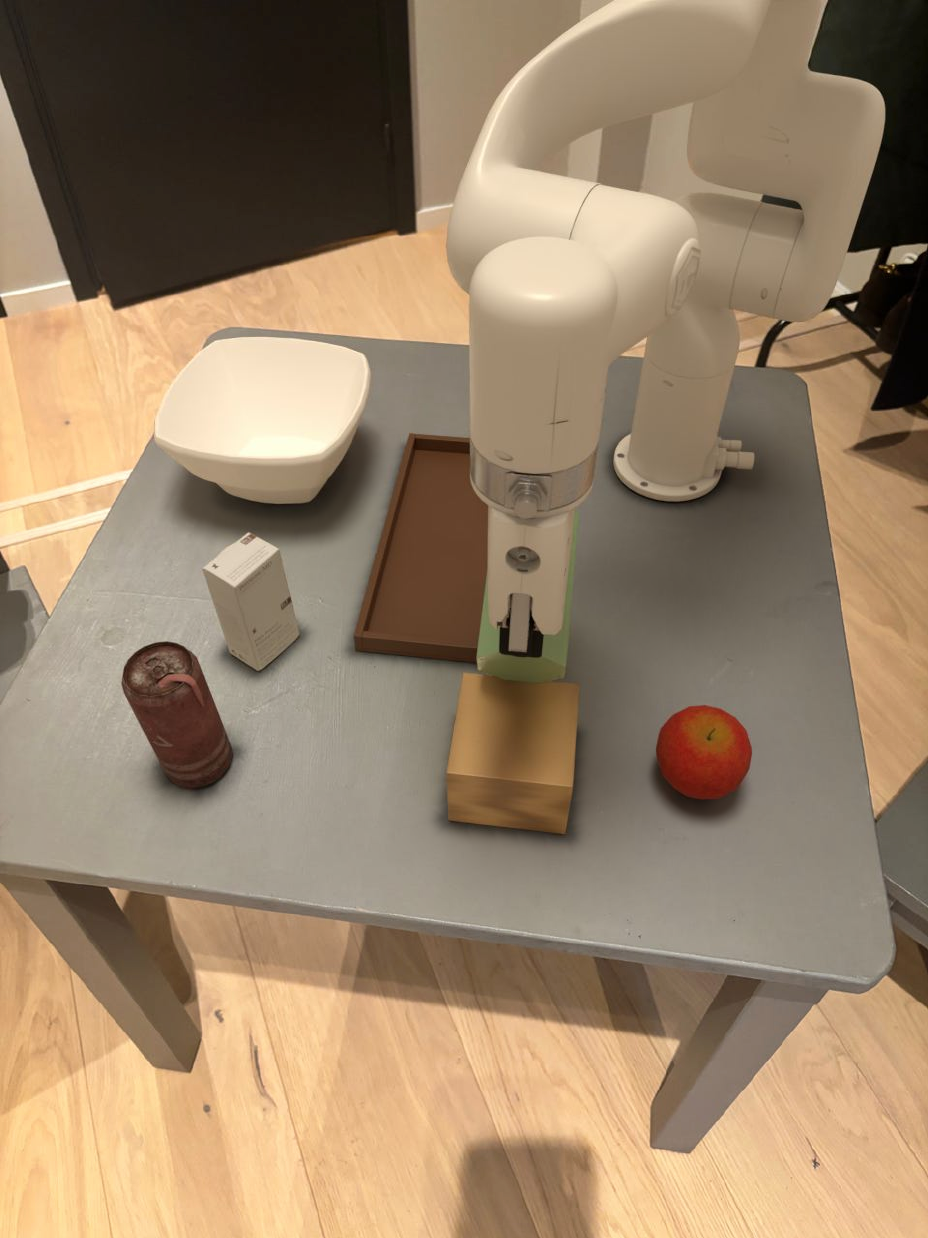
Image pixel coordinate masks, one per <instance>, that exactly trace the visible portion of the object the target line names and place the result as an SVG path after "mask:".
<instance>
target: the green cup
mask: <svg viewBox="0 0 928 1238" xmlns="http://www.w3.org/2000/svg"><path fill="white" fill-rule="evenodd" d="M579 522H580V511H579V510H577V509H575V514H574V526H573V535H572V544H571V553H570V561H569V570H568V579H567V587H566V596H565V604H564V614H563V623H562V629H561V630H560V631H559V632H558V633H557V634H555V635H548V634H544V639H543V649H542V656H541V657H540V658H533V657H515V656H512V655H503V654H501V653H500V652H499V634H500V626H498V628H497V629H495V628H494V627H493V626H492V625H491V623H490V622H489V612H488V569H487V577H486V585H485V593H484V601H483V609H482V617H481V625H480V633H479V641H478V649H477V657H476V658H477V663H476V665H477V666H476V667H477V671H481V672H484V673H485V674H487V675H492V676H495V677H498V678H500V679H503V680H511V681H520V682H530V683H542V682H547V681H551V682H553V681H556V680H561V679H565V676H566V669H567V663H568V661H567V660H568V651H569V649H568V648H569V637H570V626H571V615H572V604H573V593H574V592H573V591H574V580H575V569H576V559H577V557H576V556H577V545H578V535H579V532H578V531H579Z"/></svg>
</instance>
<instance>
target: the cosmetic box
mask: <svg viewBox="0 0 928 1238" xmlns="http://www.w3.org/2000/svg"><path fill="white" fill-rule="evenodd" d="M201 570H202V573H203V575H204V579H205V581H206V585H207V587H208V592H209V594H210V597H211V600H212V603H213V606H214V609H215V612H216V615H217V618H218V622H219V624H220V628H221V631H222V633H223V636H224V639H225V643H226V646H227V649H228V652H229V653H230V654H231V655H232V656H234V657H235V658H237V659H238V660H240V661H241V662H243V663H244V664H246V665H247V666H249V667H251V668H252V669H254V670H255V671H256V672H260V671H262V670H263V669H264V668H266V667H267V666H268V665H269V664H270V663H272V662H273V661H274V660H275V659H276V658H277V657H278V656H280V655H281V654H282V653H283V652H284V651H285V650H286V649H287V648H289V647H290V645H292V644H293V642H295V641H296V640H297V638H298V637H299V636H300V630H299V626H298V621H297V617H296V613H295V609H294V605H293V600H292V597H291V592H290V589H289V588H290V587H289V583H288V580H287V575H286V571H285V566H284V563H283V558H282V554H281V550H280V548H278V547H277V546H274V545H273V544H271V543H270V542H268V541H266V540H264V539H261V538H260V537H258V536H256V535H255V534H252V533H251V532H246V533H245V534H244V535H243V536H242V537H240V538H239V539H238V540H237V541H235V542H234V543H232V544H230V545H228V546H227V547H225V548H224V549H222V551H220V552H219V553H218V555H217V556H216V557H215V558H213V559H212V560H211V561H210V562H208V563H207V564H205V565H204V566H203V567H202V569H201Z"/></svg>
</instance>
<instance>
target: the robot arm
mask: <svg viewBox="0 0 928 1238" xmlns="http://www.w3.org/2000/svg"><path fill="white" fill-rule="evenodd" d="M821 8H822V0H611V2H609V3H608V4H605V5H604V6H602V7H601V8H599V9H598V10H596V11H593V12H592V13H591V14H589V15H587V16H586V17H585V18H583V19H582V20H580V21H579V22H577V23H576V24H575V25H573V26H572V27H570V28H569V29H568V30H566V31H565V32H563V33H562V34H561V35H559V36H557V38H556V39H554V40H553V41H552V42H551V43H550V44H548V45H547V46H546V47H544V48H543V49H542V50H541V51H540V52H539V53H537V54H536V55H535V56H534V57H533V58H531V59H530V60H529V61H528V62H527V63H526V64H524V66H522V67H521V68H520V69H519V70H518V71H517V72H516V73H515V75H514V76H513V77H512V78H511V79H510V80H509V81H508V82H507V83H506V85H505V86H504V88H503V89H502V90H501V92H500V93H499V94H498V96H497V98H496V99H495V101H494V102H493V104H492V106H491V108H490V109H489V112H488V114H487V116H486V118H485V120H484V122H483V125H482V127H481V130H480V132H479V135H478V137H477V140H476V142H475V144H474V146H473V149H472V152H471V154H470V156H469V159H468V160H467V164H466V166H465V169H464V172H463V174H462V176H461V179H460V182H459V184H458V187H457V191H456V194H455V196H454V201H453V204H452V207H451V210H450V215H449V219H448V224H447V231H446V243H445V249H446V260H447V261H446V262H447V266H448V268H449V271H450V274H451V277H452V278H453V280H454V281H455V283H456V284H457V286H458V287H459V288H460V289H461V290H462V291H463V292H465V293H466V294H468V343H469V344H468V347H469V348H468V353H469V355H468V356H469V357H468V358H469V438H470V480H471V485H472V487H473V489H474V491H475V493H476V494H477V495H478V496H479V498H480V499H481V500H482V501H483V502H485V503H486V504H487V505H488V612H489V622H490V623H491V625H492V626H493V627H494V628H495V629H497V628H498V626H500V634H499V652H500V653H501V654H503V655H512V656H515V657H533V658H540V657H541V656H542V649H543V639H544V634H548V635H555V634H557V633H558V632H559V631H560V630H561V629H562V623H563V614H564V604H565V596H566V587H567V579H568V570H569V561H570V553H571V544H572V535H573V526H574V514H575V510H576V507H578V506H579V505H581V504H582V503H583V502H584V501H585V500H586V499H587V498H588V497H589V495H590V494H591V492H592V489H593V486H594V483H595V476H596V475H595V474H596V466H597V459H598V451H599V443H600V436H601V428H602V421H603V420H602V419H603V412H604V406H605V405H604V404H605V397H606V389H607V388H606V387H607V382H608V381H607V380H608V373H609V367H610V366H611V364H612V363H613V362H614V361H615V360H617V359H618V358H620V356H622V355H623V354H624V353H626V352H628V351H629V350H630V349H632V348H633V347H635V346H636V345H638V344H639V343H641V342H642V341H644V340H645V339H646V340H645V347H644V352H643V353H644V354H643V360H642V366H641V372H640V377H639V383H638V389H637V395H636V401H635V407H634V414H633V419H632V425H631V426H632V427H631V431H630V433H629V434H627V435H626V436H624V437H623V438H622V439H621V440H620V441H619V442H618V444H617V446H616V447H615V450H614V454H613V461H612V462H613V463H612V464H613V469H614V471H615V474H616V476H617V477H618V478H619V480H620V481H621V482H622V483H623V484H624V485H625V486H626V487H627V488H629V489H630V490H632V491H633V492H635V493H637V494H639V495H641V496H644V497H646V498H649V499H653V500H657V501H664V502H686V501H691V500H694V499H698V498H700V497H703V496H705V495H707V494H708V493H710V492H711V491H712V490H713V489H714V488H715V487H716V486H717V485H718V483H719V481H720V479H721V476H722V472H723V470H724V469H725V468H735V469H741V470H753V468H754V463H755V452H752V451H751V452H750V451H741V450H742V446H743V444H742V443H743V441H742V440H737V439H722V437H721V436H718V433H719V429H720V425H721V421H722V417H723V414H724V410H725V405H726V401H727V397H728V394H729V390H730V386H731V382H732V378H733V374H734V371H735V366H736V363H737V359H738V355H739V351H740V345H741V334H740V327H739V323H738V319H737V316H736V313H735V311H738V312H742V313H747V314H751V315H755V316H760V317H764V318H768V319H773V320H779V321H784V322H790V323H804V322H808V321H811V320H813V319H815V318H816V317H817V316H818V315H820V314H821V313H822V311H824V309H825V308H826V306H827V305H828V303H829V301H830V299H831V297H832V296H833V293H834V290H835V289H836V286H837V283H838V281H839V277H840V274H841V271H842V269H843V265H844V263H845V259H846V257H847V253H848V250H849V247H850V243H851V240H852V238H853V235H854V231H855V228H856V225H857V221H858V219H859V215H860V214H861V209H862V206H863V203H864V200H865V197H866V194H867V191H868V187H869V185H870V182H871V178H872V175H873V172H874V169H875V165H876V162H877V159H878V155H879V152H880V148H881V144H882V140H883V136H884V129H885V123H886V104H885V100H884V97H883V95H882V93H881V92H880V90H879V89H878V88H877V87H876V86H874V85H873V84H871V83H870V82H868V81H864V80H862V79H859V78H854V77H849V76H843V75H834V74H831V73H830V74H829V73H823V72H817V71H813V70H811V69H810V68H809V64H808V63H809V55H810V51H811V48H812V43H813V41H814V40H813V39H814V35H815V31H816V28H817V24H818V20H819V17H820V13H821ZM689 104H692V107H691V112H690V118H689V125H688V132H687V143H686V157H687V163H688V167H689V168H690V171H691V172H692V173H693V174H694V175H695V176H696V177H697V178H699V179H701V180H702V181H704V182H707V183H710V184H713V185H715V186H719V187H724V188H728V189H731V190H732V189H733V190H737V191H741V192H748V193H752V194H757V195H763V196H768V197H773V198H780V199H784V200H789V201H793V202H796V203H798V204H799V206H800V208H801V209H799V208H793V207H789V206H788V207H787V206H782V205H778V204H773V203H767V202H764V201H760V200H755V199H751V198H744V197H739V196H734V195H728V194H725V193H724V194H723V193H718V192H717V193H716V192H692V193H691V192H690V193H687V194H683V195H680V196H678V197H676V198H675V199H674V200H670V199H667V198H665V197H663V196H659V195H654V194H652V193H651V194H650V193H646V192H641V191H636V190H629V189H624V188H620V187H615V186H609V185H605V184H603V183H600V182H595V181H589V180H585V179H580V178H575V177H570V176H565V175H559V174H555V173H551V172H550V173H549V172H544V171H542V170H543V168H544V167H545V166H546V164H547V163H549V161H550V160H551V159H552V158H553V157H554V156H555V155H556V154H557V153H559V152H560V151H562V150H563V149H564V148H566V147H567V146H568V145H570V144H572V143H573V142H575V141H577V140H579V139H580V138H582V137H584V136H586V135H588V134H591V133H593V132H595V131H597V130H600V129H603V128H606V127H609V126H612V125H613V126H614V125H616V124H620V123H623V122H628V121H631V120H635V119H640V118H643V117H647V116H651V115H655V114H658V113H661V112H665V111H668V110H673V109H676V108H679V107H682V106H686V105H689Z"/></svg>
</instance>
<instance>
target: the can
mask: <svg viewBox="0 0 928 1238" xmlns="http://www.w3.org/2000/svg"><path fill="white" fill-rule="evenodd" d="M122 670H123V671H122V677H121V688H122V692H123V694H124V696H125V698H126V701H127V702H128V704H129V706H130V708H131V710H132V712H133V714H134V716H135V718H136V720H137V721H138V724H139V726H140V727H141V729H142V731H143V733H144V735H145V737H146V739H147V742H148V743H149V745H150V747H151V748H152V751H153V753H154V754H155V757H156V758H157V760H158V762H159V764H160V766H161V768H162V770H163V772H164V774H165V775H166V777H167V778H168V779H169V780H170V782H172V783H174V784H175V785H177V786H179V787H183V788H190V789H192V788H193V789H194V788H201V787H205V786H207V785H211V784H212V783H214V782H216V781H217V780H218V779H220V778H221V777H222V776H223V775H224V774H225V772H226V771H227V770H228V769H229V767H230V764H231V762H232V759H233V747H232V744H231V741H230V739H229V736H228V733H227V731H226V728H225V726H224V723H223V720H222V717H221V716H220V712H219V710H218V708H217V706H216V702H215V700H214V697H213V695H212V692H211V690H210V687H209V685H208V682H207V679H206V677H205V674H204V672H203V669H202V666H201V664H200V662H199V659H198V657H197V656H196V654H194V653H193V651H191V650H190V649H188V648H187V647H186V646H184V645H182V644H180V643H179V642H178V643H177V642H175V641H174V642H173V641H167V640H166V641H165V640H164V641H155V642H153V643H150V644H147V645H145V646H144V645H143V647H141V648H140V649H138V650H136V651H135V652H133V654H131V656H130V657H129V658H128V659H127V660H126V663H125V665H124V667H123V669H122Z"/></svg>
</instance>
